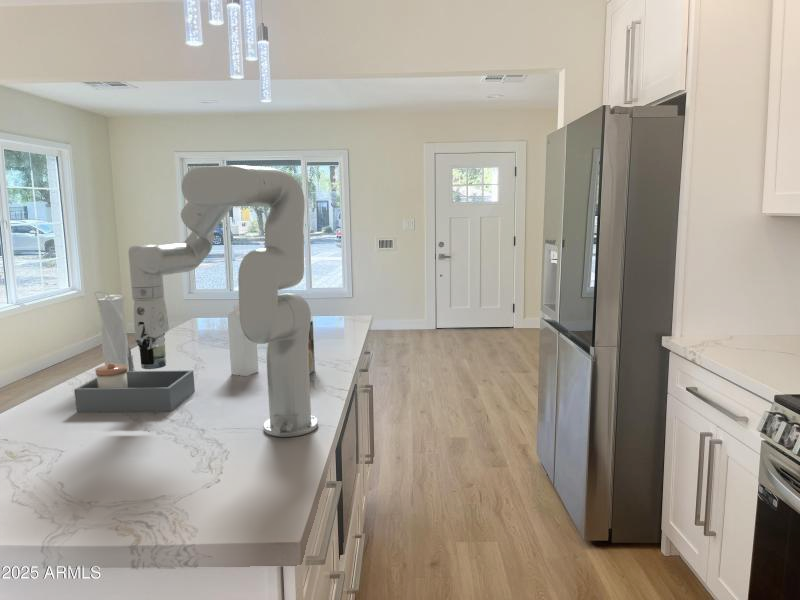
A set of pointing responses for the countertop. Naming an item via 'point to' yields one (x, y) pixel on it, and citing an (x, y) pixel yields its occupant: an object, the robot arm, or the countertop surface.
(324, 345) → the countertop surface
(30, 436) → the countertop surface
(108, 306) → the skyscraper
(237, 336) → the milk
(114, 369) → the lidded jar
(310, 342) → the coffee box
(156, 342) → the grey green cylinder
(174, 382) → the tote
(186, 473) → the countertop surface
